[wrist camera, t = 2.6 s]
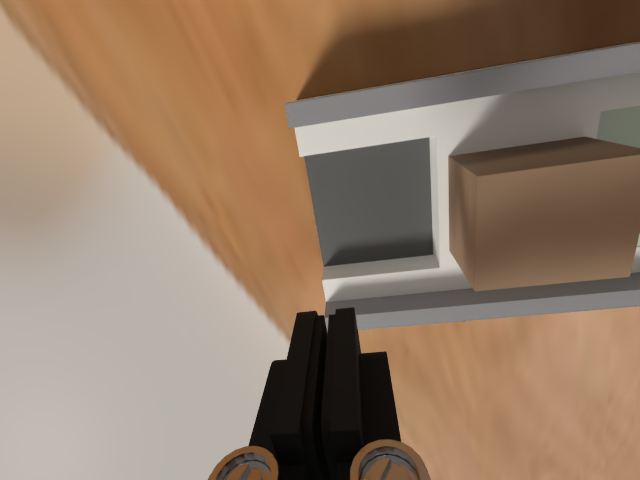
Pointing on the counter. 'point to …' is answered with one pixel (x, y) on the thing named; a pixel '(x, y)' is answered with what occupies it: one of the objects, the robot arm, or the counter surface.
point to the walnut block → (544, 213)
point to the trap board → (432, 180)
